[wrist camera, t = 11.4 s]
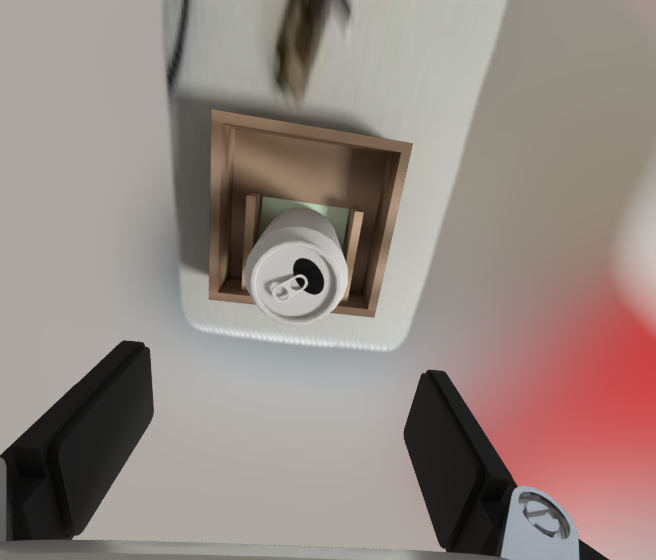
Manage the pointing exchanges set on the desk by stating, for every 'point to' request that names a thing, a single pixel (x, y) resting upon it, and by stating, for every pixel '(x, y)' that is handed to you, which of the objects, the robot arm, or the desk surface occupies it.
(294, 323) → the can
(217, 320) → the desk surface
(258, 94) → the desk surface
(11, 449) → the robot arm
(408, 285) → the desk surface
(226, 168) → the walnut box
